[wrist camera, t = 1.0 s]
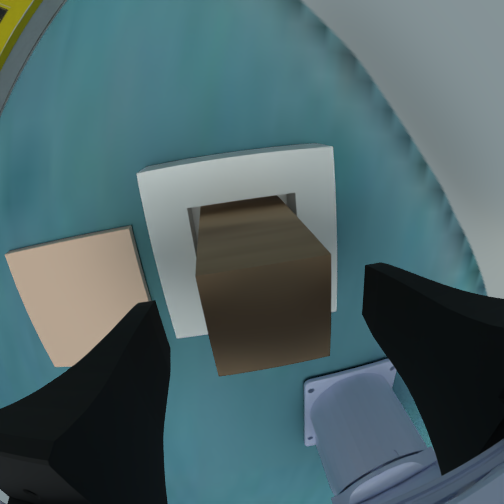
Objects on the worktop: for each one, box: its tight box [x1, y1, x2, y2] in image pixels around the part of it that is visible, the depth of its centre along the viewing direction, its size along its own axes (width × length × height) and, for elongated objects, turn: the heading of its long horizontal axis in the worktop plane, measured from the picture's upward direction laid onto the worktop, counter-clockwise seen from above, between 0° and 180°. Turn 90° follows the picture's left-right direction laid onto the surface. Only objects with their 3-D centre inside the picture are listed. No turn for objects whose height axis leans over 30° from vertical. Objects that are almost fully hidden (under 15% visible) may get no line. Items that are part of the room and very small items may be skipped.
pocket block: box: [136, 143, 337, 338], centre depth 17 cm, size 9×9×2 cm
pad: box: [5, 225, 151, 367], centre depth 18 cm, size 9×9×1 cm
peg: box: [195, 195, 331, 376], centre depth 14 cm, size 4×4×8 cm
